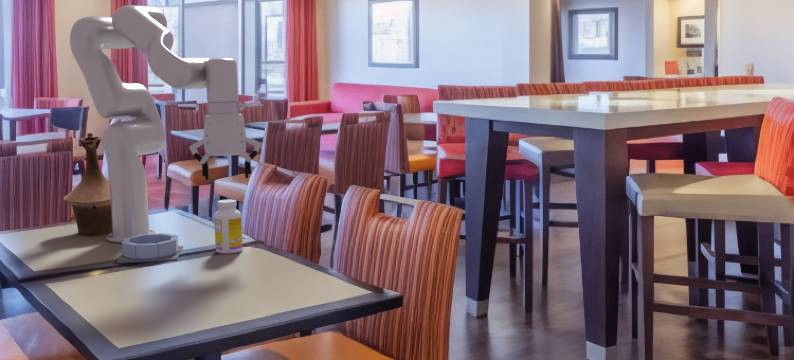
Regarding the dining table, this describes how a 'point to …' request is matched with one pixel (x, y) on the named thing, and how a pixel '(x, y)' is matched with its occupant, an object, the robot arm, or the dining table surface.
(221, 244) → the supplement bottle
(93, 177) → the brown tall tapered piece
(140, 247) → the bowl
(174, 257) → the mat
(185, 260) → the dining table surface
